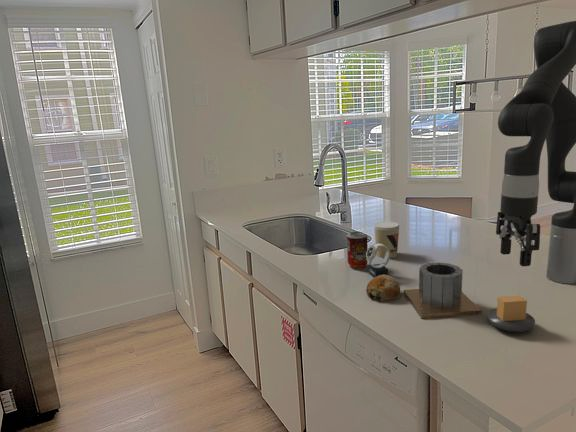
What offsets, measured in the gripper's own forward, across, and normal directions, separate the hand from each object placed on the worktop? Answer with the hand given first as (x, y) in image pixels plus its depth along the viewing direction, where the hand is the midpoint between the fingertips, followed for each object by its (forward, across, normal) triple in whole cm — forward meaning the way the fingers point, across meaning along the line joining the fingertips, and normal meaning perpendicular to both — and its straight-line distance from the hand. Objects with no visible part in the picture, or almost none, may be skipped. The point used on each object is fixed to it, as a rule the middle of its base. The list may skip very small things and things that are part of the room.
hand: (514, 259), depth 102 cm
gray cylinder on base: (+18, +15, +12) cm, 26 cm away
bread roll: (+18, +23, +26) cm, 39 cm away
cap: (+18, 0, 0) cm, 18 cm away
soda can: (+18, +48, +29) cm, 59 cm away
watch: (+18, +38, +24) cm, 48 cm away
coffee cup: (+18, +58, +16) cm, 63 cm away
